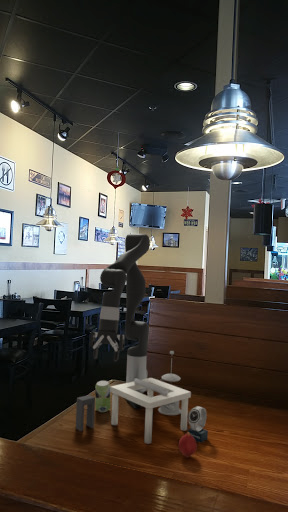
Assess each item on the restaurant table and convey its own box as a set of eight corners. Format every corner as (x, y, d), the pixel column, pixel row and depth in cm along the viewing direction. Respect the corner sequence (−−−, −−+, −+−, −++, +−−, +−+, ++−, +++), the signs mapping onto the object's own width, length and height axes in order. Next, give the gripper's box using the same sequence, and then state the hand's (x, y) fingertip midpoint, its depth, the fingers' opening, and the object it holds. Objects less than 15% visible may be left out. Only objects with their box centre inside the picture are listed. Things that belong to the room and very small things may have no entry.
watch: (184, 439, 141) (185, 408, 141) (196, 433, 147) (198, 402, 147) (198, 445, 137) (199, 412, 137) (210, 437, 143) (211, 406, 143)
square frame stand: (149, 411, 166) (151, 372, 166) (189, 429, 150) (191, 386, 150) (108, 423, 152) (110, 381, 152) (147, 444, 136) (149, 397, 136)
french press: (174, 417, 161) (177, 354, 162) (149, 410, 168) (152, 350, 168) (185, 409, 170) (187, 350, 170) (161, 403, 176) (163, 346, 176)
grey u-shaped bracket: (88, 424, 151) (89, 395, 151) (93, 427, 148) (95, 397, 148) (75, 428, 147) (76, 397, 147) (80, 431, 144) (82, 400, 144)
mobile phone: (142, 397, 169) (129, 386, 183) (136, 398, 168) (123, 387, 182) (142, 409, 169) (128, 397, 183) (135, 410, 168) (122, 398, 182)
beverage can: (111, 408, 168) (112, 379, 168) (108, 414, 161) (109, 384, 161) (96, 407, 169) (97, 378, 169) (92, 413, 161) (94, 383, 162)
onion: (176, 452, 131) (177, 428, 131) (194, 452, 131) (195, 428, 131) (179, 461, 125) (180, 435, 125) (198, 461, 125) (199, 435, 126)
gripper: (129, 320, 162) (125, 361, 160) (97, 317, 167) (93, 357, 165) (122, 319, 155) (118, 362, 153) (89, 316, 160) (84, 358, 158)
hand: (105, 359), depth 159 cm, fingers open, 8 cm apart
